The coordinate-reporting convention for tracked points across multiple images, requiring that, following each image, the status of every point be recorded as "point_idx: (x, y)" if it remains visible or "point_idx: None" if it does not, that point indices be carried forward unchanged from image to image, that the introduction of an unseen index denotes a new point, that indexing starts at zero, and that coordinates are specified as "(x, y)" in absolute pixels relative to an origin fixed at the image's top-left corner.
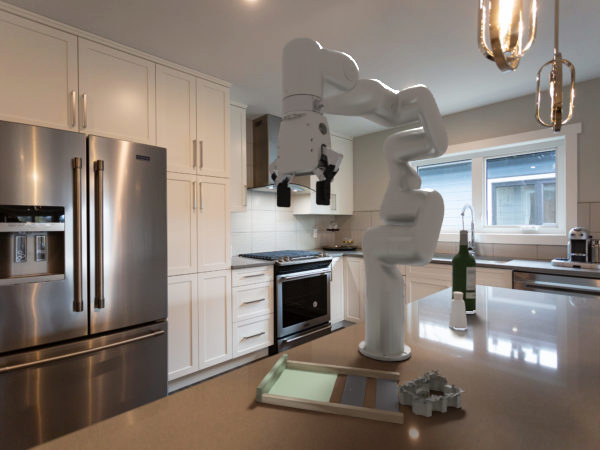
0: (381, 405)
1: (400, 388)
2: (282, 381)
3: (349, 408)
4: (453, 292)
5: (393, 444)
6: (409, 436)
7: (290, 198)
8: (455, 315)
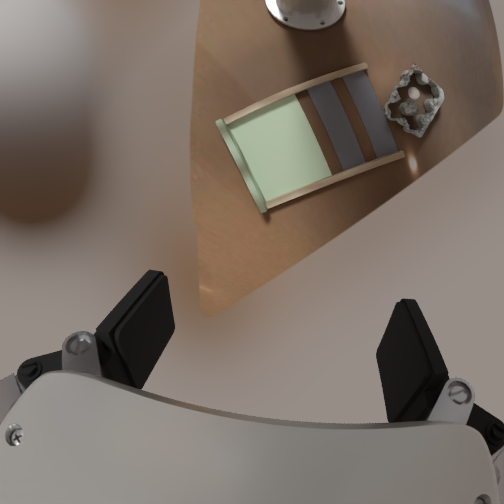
0: (374, 135)
1: (390, 113)
2: (252, 157)
3: (358, 173)
4: None
5: (403, 189)
6: (411, 171)
7: (147, 296)
8: None
